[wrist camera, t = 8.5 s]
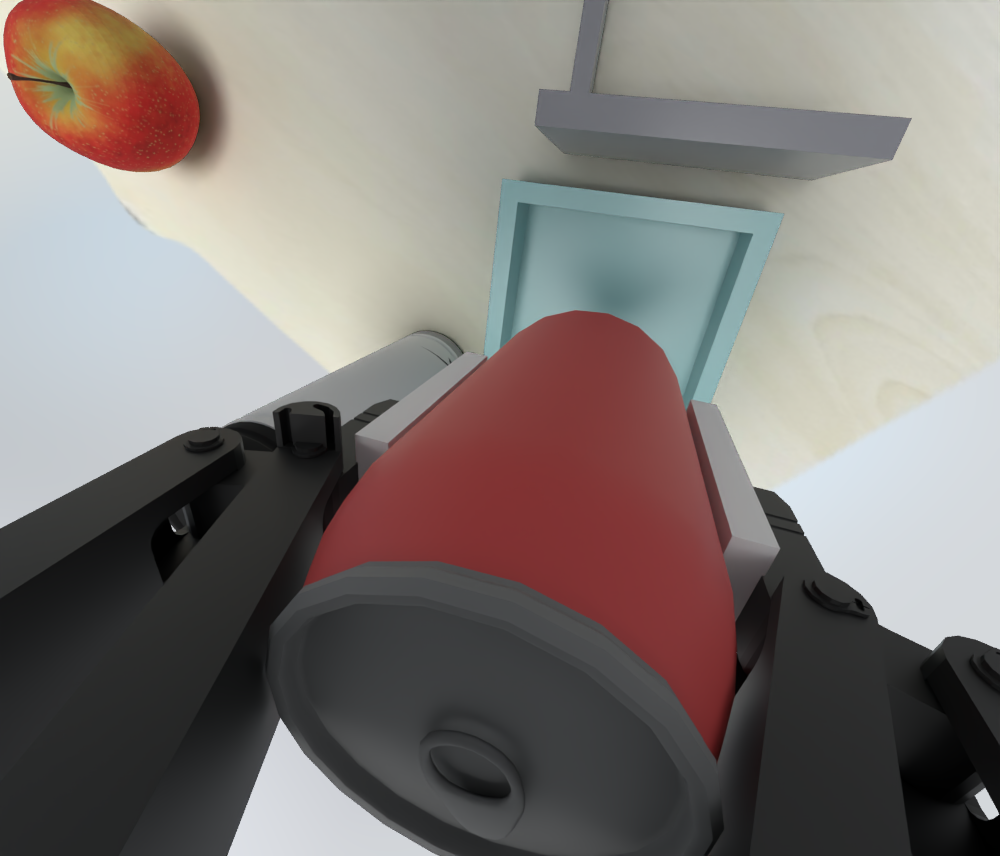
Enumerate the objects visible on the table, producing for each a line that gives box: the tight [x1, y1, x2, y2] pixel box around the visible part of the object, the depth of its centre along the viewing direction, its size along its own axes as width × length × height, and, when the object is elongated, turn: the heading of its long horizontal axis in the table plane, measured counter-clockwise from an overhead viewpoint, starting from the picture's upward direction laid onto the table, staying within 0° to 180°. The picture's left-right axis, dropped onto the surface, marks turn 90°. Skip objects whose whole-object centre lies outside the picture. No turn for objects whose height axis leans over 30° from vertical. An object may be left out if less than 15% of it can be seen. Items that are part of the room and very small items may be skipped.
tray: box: [484, 179, 784, 411], centre depth 26 cm, size 14×14×3 cm
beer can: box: [265, 310, 737, 856], centre depth 10 cm, size 7×7×12 cm
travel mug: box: [169, 331, 463, 531], centre depth 24 cm, size 6×7×20 cm
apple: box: [3, 0, 200, 172], centre depth 25 cm, size 8×8×10 cm
